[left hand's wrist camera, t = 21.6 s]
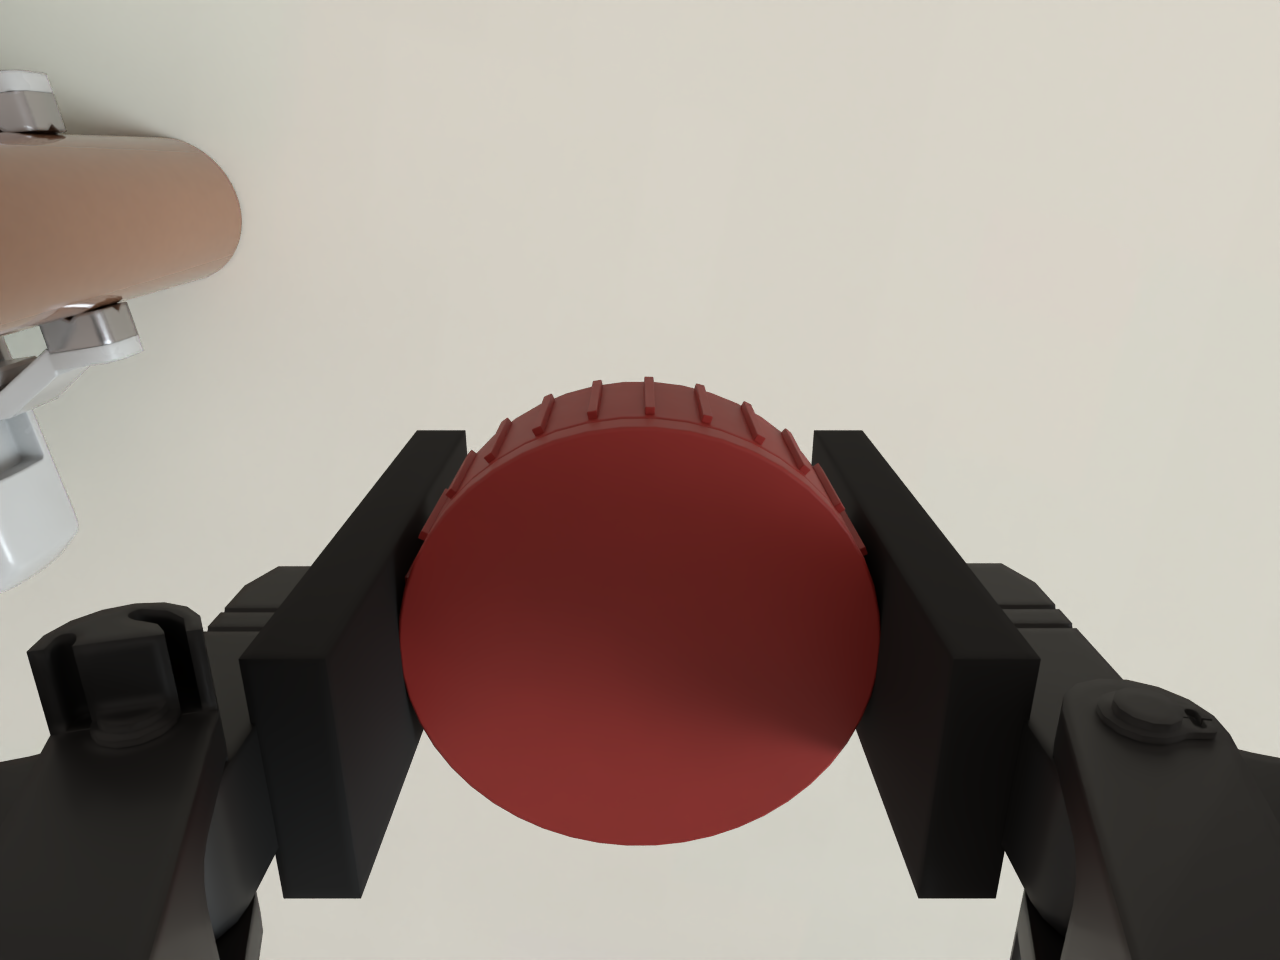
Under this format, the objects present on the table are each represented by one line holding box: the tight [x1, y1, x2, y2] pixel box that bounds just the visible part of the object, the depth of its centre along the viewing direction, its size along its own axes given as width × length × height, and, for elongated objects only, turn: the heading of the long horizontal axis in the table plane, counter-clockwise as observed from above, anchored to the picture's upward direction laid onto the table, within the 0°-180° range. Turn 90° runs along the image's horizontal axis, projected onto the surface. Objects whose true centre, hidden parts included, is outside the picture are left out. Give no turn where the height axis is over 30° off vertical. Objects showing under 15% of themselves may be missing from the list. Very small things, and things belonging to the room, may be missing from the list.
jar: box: [0, 132, 242, 337], centre depth 22 cm, size 5×5×17 cm
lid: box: [399, 377, 880, 845], centre depth 11 cm, size 6×6×2 cm
